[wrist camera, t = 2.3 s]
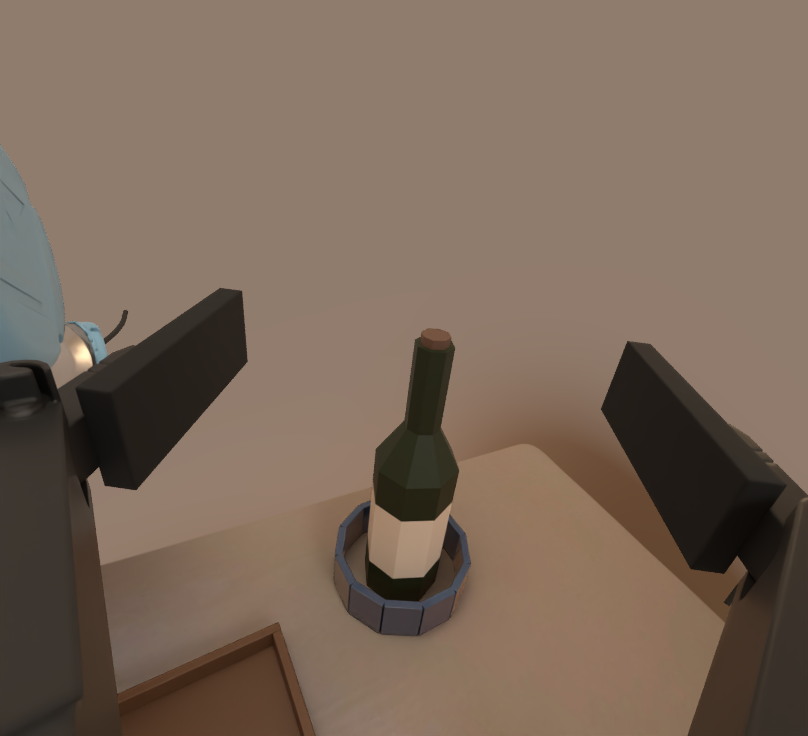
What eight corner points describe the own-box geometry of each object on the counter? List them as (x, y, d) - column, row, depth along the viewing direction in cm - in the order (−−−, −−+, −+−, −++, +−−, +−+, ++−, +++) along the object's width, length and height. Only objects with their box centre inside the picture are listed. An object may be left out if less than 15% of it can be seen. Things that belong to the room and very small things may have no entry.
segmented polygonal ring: (316, 545, 52) (316, 518, 50) (419, 506, 59) (423, 481, 57) (370, 662, 41) (374, 635, 39) (488, 597, 48) (496, 571, 46)
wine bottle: (352, 591, 47) (372, 344, 33) (376, 532, 54) (400, 308, 40) (426, 615, 46) (481, 368, 31) (441, 551, 53) (491, 326, 39)
